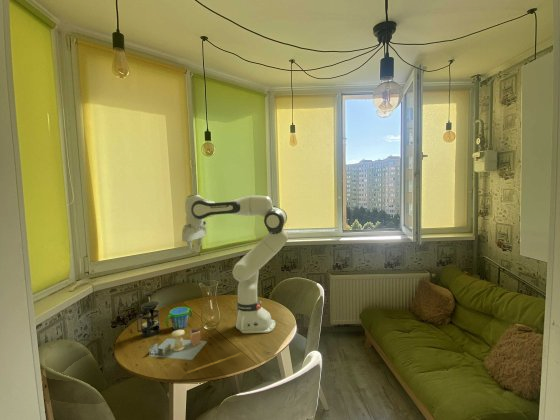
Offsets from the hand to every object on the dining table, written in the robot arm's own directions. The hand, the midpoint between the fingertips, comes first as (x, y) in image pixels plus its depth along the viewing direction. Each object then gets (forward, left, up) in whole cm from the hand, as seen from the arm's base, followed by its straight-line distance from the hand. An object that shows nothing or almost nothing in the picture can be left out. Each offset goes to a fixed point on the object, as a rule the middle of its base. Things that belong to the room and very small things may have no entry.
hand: (195, 247), depth 163 cm
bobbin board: (-4, +28, -45) cm, 53 cm away
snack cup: (+8, +6, -46) cm, 47 cm away
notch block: (+3, +32, -44) cm, 55 cm away
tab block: (-10, +22, -44) cm, 50 cm away
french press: (+20, +16, -46) cm, 52 cm away
